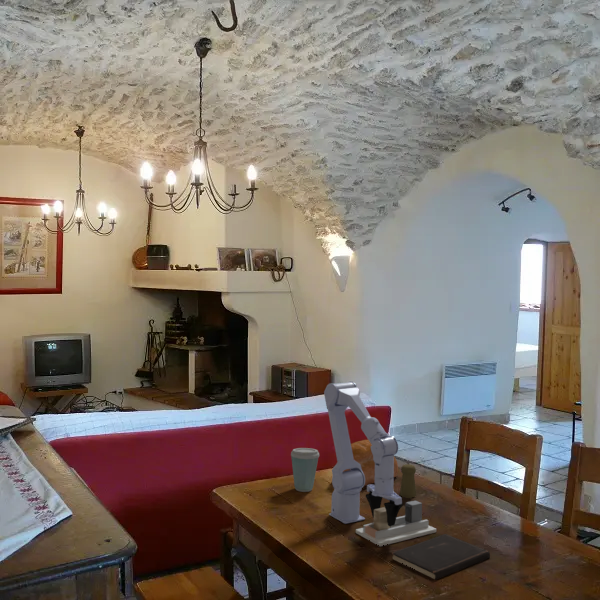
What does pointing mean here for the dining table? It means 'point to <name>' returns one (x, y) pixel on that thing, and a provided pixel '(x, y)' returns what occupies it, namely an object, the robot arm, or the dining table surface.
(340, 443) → the robot arm
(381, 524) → the block
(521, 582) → the dining table surface
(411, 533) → the rail
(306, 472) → the disposable coffee cup
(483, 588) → the dining table surface
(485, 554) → the hardcover book
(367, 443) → the bread
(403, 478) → the cork
